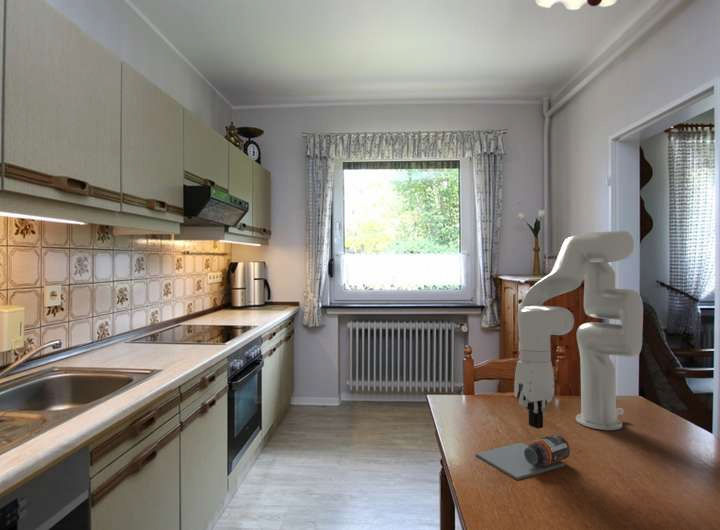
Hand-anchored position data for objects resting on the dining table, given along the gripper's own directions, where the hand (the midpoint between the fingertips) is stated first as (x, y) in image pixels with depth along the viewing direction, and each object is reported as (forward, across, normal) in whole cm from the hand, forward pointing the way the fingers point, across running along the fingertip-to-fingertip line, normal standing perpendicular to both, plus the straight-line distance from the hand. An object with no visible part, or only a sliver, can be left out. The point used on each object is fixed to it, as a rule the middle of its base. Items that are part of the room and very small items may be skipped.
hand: (535, 426), depth 108 cm
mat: (+8, +6, 0) cm, 10 cm away
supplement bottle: (+4, -4, +4) cm, 7 cm away
